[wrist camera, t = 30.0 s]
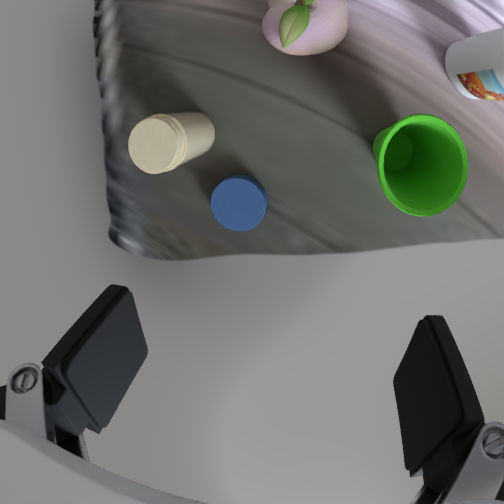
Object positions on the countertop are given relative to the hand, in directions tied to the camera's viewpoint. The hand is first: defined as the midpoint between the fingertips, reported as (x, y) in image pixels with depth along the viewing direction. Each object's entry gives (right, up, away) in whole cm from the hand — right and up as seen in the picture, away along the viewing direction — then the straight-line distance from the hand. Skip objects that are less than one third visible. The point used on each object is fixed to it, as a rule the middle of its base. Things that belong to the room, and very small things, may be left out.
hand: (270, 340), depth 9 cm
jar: (-8, +17, +25) cm, 31 cm away
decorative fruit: (+6, +28, +17) cm, 33 cm away
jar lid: (-2, +8, +27) cm, 28 cm away
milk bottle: (+26, +25, +15) cm, 39 cm away
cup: (+16, +15, +22) cm, 31 cm away
